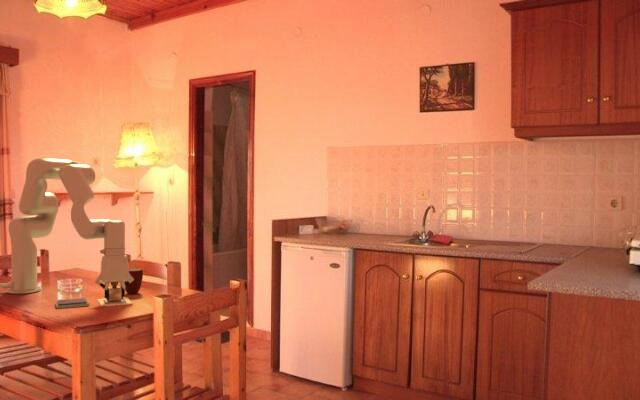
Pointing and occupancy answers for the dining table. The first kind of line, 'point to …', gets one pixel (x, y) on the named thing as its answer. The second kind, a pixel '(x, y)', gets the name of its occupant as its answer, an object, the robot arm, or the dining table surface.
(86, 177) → the robot arm
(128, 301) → the card
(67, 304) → the ink pad
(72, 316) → the dining table surface
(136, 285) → the mug
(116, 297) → the stamp
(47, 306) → the dining table surface
